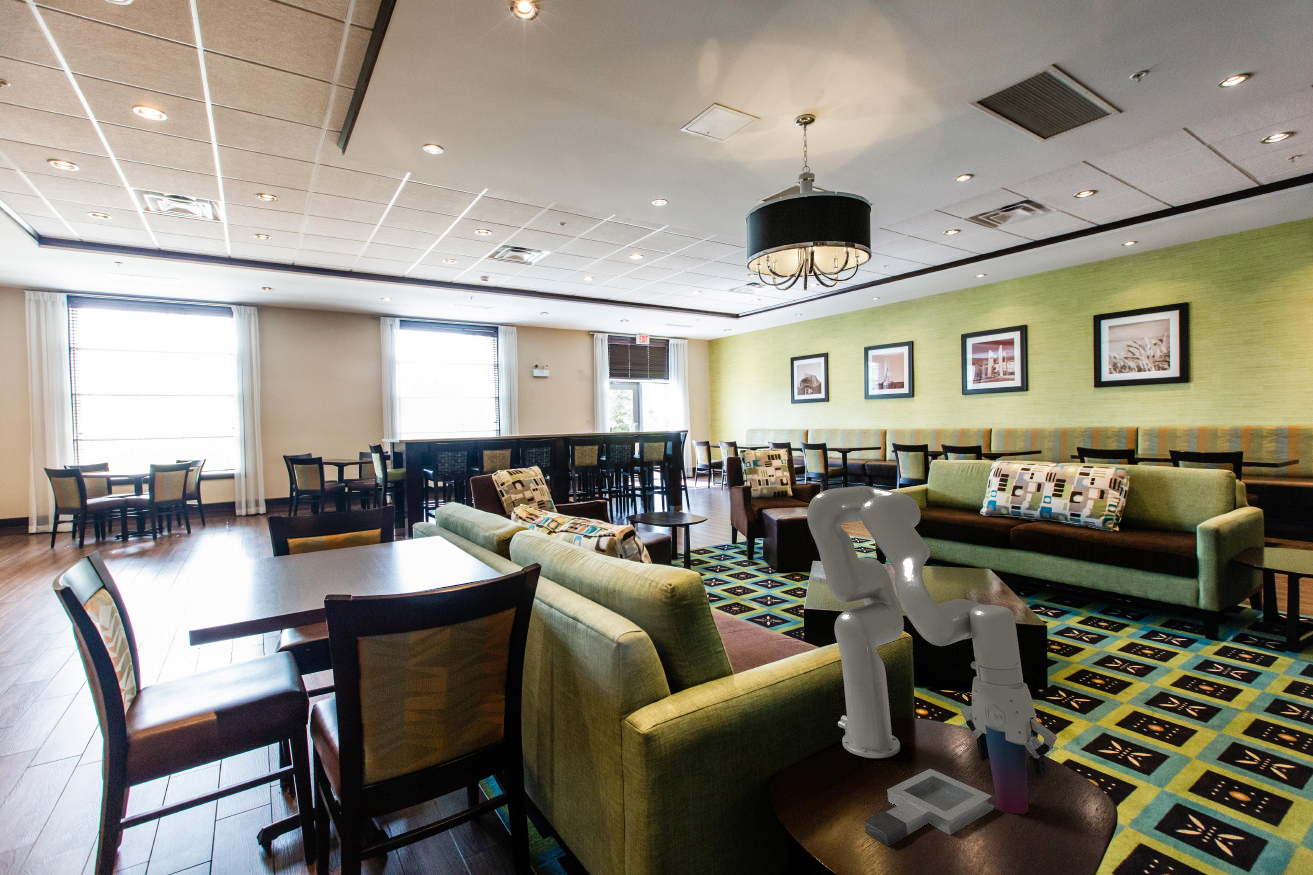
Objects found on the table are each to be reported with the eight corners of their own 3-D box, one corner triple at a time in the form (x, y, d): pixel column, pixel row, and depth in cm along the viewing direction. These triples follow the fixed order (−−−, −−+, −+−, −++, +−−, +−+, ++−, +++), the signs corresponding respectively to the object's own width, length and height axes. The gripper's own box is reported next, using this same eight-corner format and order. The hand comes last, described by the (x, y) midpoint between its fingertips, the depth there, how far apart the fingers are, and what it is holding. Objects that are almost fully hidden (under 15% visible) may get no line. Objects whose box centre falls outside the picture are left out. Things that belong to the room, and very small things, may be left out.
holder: (931, 780, 121) (930, 768, 121) (993, 809, 110) (992, 795, 110) (848, 822, 109) (847, 808, 110) (908, 859, 98) (907, 844, 98)
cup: (1040, 817, 106) (1031, 732, 107) (999, 816, 108) (990, 731, 109) (1025, 797, 113) (1016, 716, 114) (986, 795, 114) (978, 716, 115)
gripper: (945, 667, 117) (956, 757, 116) (1035, 690, 103) (1049, 793, 101) (968, 659, 121) (979, 746, 120) (1059, 679, 106) (1072, 779, 105)
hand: (1011, 767), depth 110 cm, fingers open, 9 cm apart
